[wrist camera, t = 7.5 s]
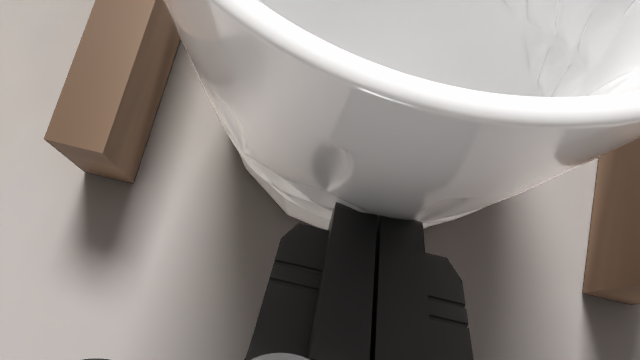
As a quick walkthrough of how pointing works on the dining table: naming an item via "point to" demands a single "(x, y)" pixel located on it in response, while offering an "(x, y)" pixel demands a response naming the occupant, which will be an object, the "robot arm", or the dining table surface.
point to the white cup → (414, 96)
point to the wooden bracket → (147, 88)
